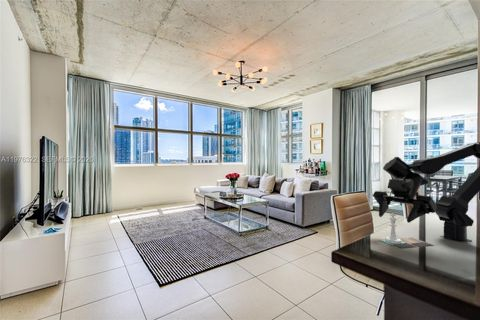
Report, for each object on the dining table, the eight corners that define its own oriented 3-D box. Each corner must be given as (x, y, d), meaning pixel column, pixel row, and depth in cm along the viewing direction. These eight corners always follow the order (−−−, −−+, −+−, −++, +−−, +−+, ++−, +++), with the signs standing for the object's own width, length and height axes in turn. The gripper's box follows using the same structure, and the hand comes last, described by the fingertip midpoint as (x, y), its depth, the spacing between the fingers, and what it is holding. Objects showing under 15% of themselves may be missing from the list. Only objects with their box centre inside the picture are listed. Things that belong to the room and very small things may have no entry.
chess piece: (404, 244, 76) (404, 214, 76) (388, 243, 77) (388, 213, 77) (397, 239, 80) (397, 211, 81) (382, 238, 81) (382, 211, 82)
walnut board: (412, 239, 83) (411, 237, 83) (436, 247, 75) (436, 245, 75) (377, 241, 80) (377, 240, 80) (399, 250, 72) (399, 248, 72)
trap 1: (407, 244, 76) (407, 243, 76) (415, 247, 74) (415, 246, 74) (392, 245, 75) (392, 244, 75) (400, 248, 72) (400, 247, 72)
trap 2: (424, 242, 78) (424, 242, 78) (433, 245, 75) (433, 244, 75) (410, 243, 77) (410, 243, 77) (418, 246, 74) (418, 246, 74)
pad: (394, 239, 82) (394, 238, 82) (406, 243, 77) (406, 242, 77) (379, 240, 80) (379, 239, 80) (390, 244, 76) (390, 244, 76)
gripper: (375, 171, 90) (357, 200, 85) (431, 172, 73) (414, 208, 68) (386, 189, 93) (371, 218, 88) (443, 194, 77) (428, 231, 71)
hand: (393, 218), depth 79 cm, fingers open, 9 cm apart
